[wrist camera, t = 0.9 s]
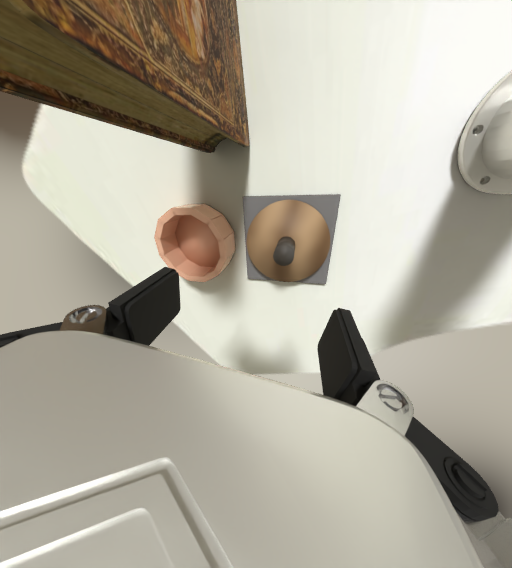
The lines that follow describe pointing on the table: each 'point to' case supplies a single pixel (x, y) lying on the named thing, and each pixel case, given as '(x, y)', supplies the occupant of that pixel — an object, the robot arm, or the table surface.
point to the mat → (321, 203)
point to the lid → (288, 240)
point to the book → (131, 64)
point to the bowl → (195, 241)
